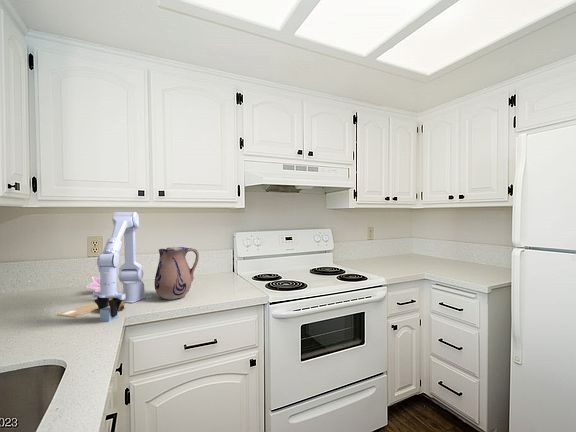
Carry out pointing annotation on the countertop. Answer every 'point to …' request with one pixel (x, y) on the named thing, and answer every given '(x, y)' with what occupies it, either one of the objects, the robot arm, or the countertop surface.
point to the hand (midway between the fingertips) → (109, 315)
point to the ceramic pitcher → (174, 272)
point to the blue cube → (106, 314)
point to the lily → (95, 284)
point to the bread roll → (119, 306)
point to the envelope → (80, 310)
